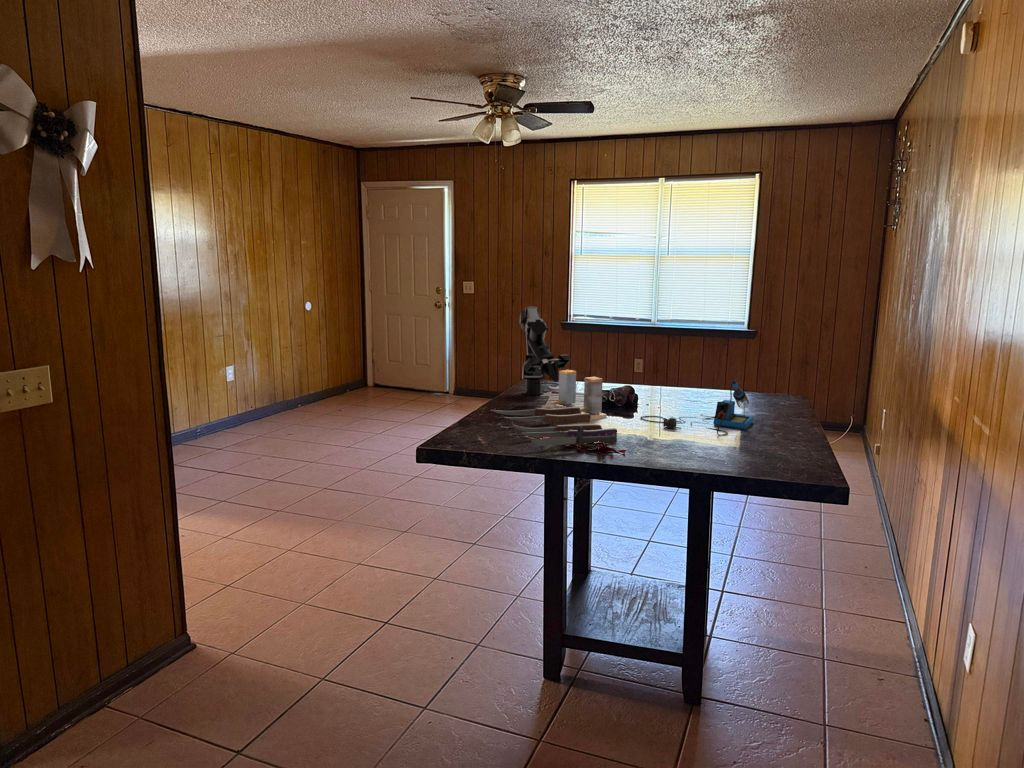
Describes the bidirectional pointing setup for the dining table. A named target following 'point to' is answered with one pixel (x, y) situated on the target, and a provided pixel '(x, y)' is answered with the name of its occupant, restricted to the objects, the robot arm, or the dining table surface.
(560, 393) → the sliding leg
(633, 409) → the dining table surface
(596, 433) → the knife set
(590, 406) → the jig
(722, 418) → the soldering iron
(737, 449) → the dining table surface
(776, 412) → the dining table surface
